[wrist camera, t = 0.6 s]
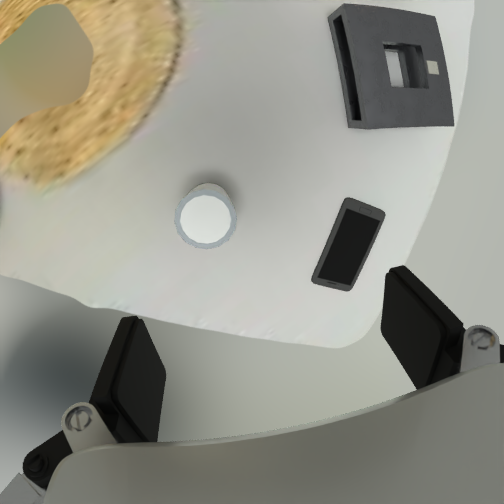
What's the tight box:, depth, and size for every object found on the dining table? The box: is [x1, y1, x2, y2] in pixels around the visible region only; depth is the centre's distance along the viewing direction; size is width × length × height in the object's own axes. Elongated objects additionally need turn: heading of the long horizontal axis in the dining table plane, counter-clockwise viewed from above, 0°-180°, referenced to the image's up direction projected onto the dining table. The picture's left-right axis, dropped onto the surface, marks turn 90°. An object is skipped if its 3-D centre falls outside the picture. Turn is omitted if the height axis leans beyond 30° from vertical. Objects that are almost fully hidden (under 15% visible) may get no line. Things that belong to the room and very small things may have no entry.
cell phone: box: [311, 198, 385, 291], centre depth 43 cm, size 7×14×1 cm, turn 162°
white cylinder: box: [174, 183, 237, 249], centre depth 36 cm, size 7×7×7 cm
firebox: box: [328, 4, 454, 129], centre depth 30 cm, size 16×14×6 cm
